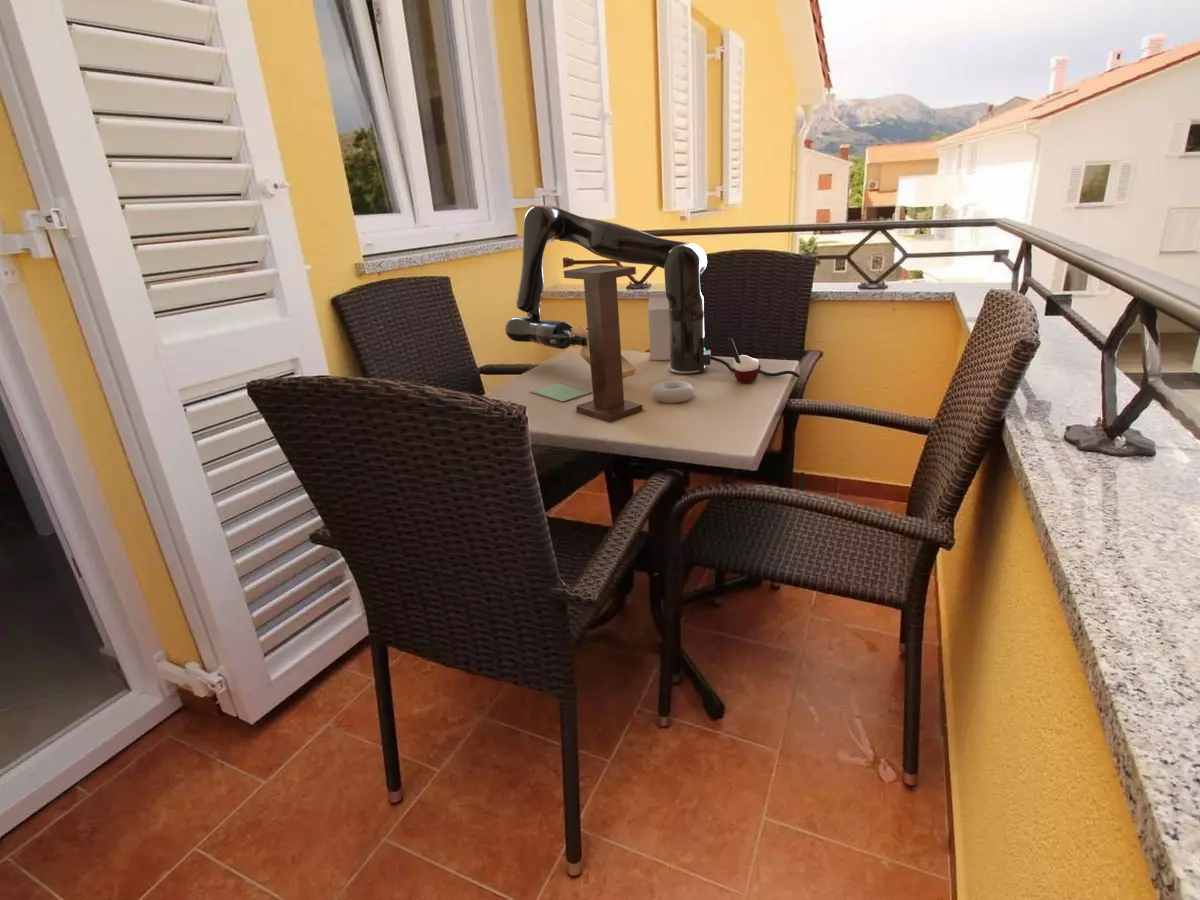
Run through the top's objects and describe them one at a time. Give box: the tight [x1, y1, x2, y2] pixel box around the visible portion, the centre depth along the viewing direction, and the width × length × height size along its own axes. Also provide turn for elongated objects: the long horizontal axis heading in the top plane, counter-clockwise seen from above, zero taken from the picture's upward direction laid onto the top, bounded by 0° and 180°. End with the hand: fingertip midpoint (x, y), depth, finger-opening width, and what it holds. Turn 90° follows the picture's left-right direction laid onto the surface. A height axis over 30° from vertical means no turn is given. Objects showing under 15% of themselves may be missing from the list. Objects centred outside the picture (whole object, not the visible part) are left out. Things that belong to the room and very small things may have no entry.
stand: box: [563, 264, 644, 423], centre depth 139 cm, size 12×10×32 cm
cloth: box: [530, 382, 592, 403], centre depth 162 cm, size 14×9×1 cm, turn 40°
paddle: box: [571, 326, 637, 379], centre depth 163 cm, size 20×9×2 cm, turn 40°
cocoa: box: [727, 337, 762, 384], centre depth 157 cm, size 10×6×12 cm, turn 96°
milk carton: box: [647, 292, 670, 361], centre depth 184 cm, size 7×7×19 cm
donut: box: [651, 380, 695, 404], centre depth 150 cm, size 10×4×10 cm
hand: (591, 340), depth 164 cm, fingers closed on paddle, 3 cm apart
